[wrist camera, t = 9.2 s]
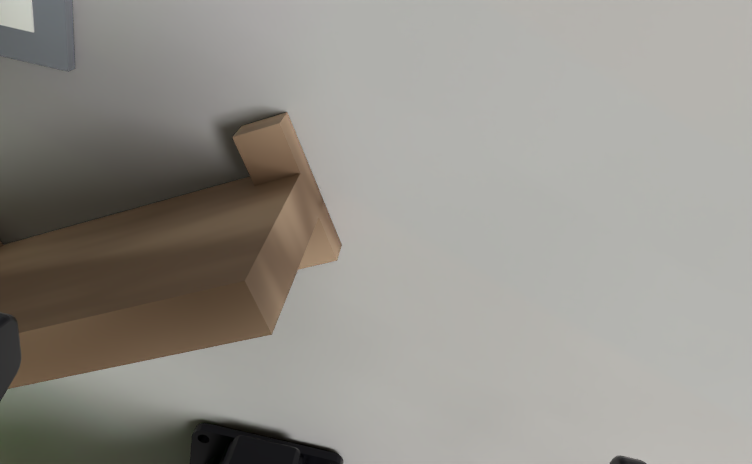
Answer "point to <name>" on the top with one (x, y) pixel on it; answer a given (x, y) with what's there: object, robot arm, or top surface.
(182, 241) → the brown wooden block
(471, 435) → the top surface
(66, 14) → the pad
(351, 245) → the top surface
